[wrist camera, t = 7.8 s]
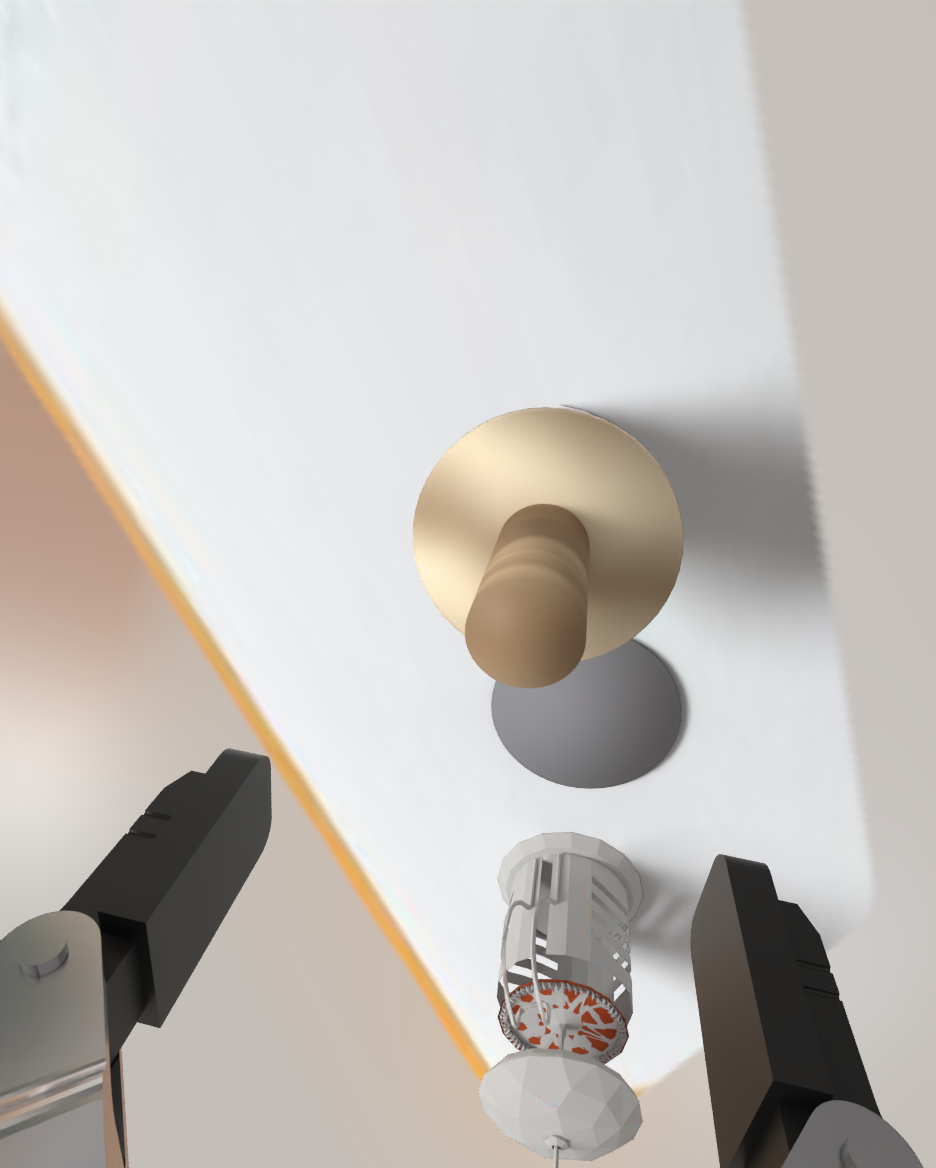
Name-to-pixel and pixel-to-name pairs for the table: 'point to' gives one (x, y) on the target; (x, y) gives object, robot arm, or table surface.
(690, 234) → the table surface
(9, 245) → the table surface
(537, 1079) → the french press
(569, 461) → the lid
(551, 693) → the mat
